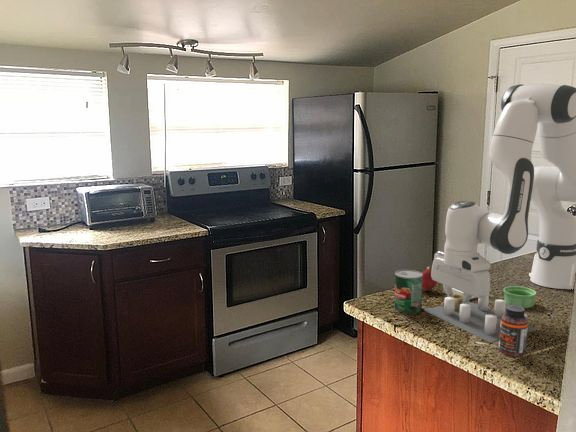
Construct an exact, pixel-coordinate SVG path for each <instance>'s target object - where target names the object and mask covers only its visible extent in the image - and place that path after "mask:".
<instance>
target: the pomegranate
mask: <svg viewBox="0 0 576 432" xmlns="http://www.w3.org/2000/svg"><path fill="white" fill-rule="evenodd" d="M431 270H432V269H431V267H430V266H427V267H426V269H425V270H423V271H422V272H421V273H422V274H423V276H422V290H424V291H426V292H429V291H431V290H432V289H434V288H435V287H436V285H437V284H438V282H436V281H434V280H432V277H431Z"/></svg>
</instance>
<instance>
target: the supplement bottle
mask: <svg viewBox="0 0 576 432" xmlns="http://www.w3.org/2000/svg"><path fill="white" fill-rule="evenodd" d="M525 309H526V308H523V307H520V306H516V305H507V306H506V307H505V314H504V315H502V317H501V325H500V337H499V340H498V350H499V352H500V353H501V354H503V355H506V356H508V357H509V356H510V357H515V358H522V357H524V356H525V354H526V349H527V348H526V347H527V339H528V338H527V337H528V332H527V329H528V326H529V320H528V317H527V318H526V317H525V316H524V314H526V313H525V311H526V310H525Z"/></svg>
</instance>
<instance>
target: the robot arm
mask: <svg viewBox="0 0 576 432" xmlns="http://www.w3.org/2000/svg"><path fill="white" fill-rule="evenodd" d="M500 109H501V113H500V115H499V117H498V120H497V122H496V125H495V127H494V130H493V133H492V136H491V141H490V144H489V150H488V151H489V152H488V157H489V159H490V161H491V163H492V165H493V166H494V167H495V168H497V170H499V171H500V172H501V173H502V174H503V175H504V176H505V178H506V179H507V182H508V189H507V190H508V191H507V194H506V195H507V196H506V200H505V201H506V202H505V209H504V213H503V214H500V213H497V212H495V211H494V212H493V211H490V210H489V209H486V208H483V207H481V206H479V204H477V202H475V201H472V200H461V201H460V200H459V201H455V202H454V203H451V204H450V206H449V207H448V209H447V213H446V215H445V217H446V219H445V226H444V230H445V231H444V232H445V233H444V234H445V237H446V238H445V243H444V247H443V249H444V250H443V251H442V250H438V251H436V252H435V253H434V255H433V260H432V265H431V269H430V270H431V277H432V280H434V281H436V282H437V283H439V284H442V285H445V290H446V293H447V294H446V297H449V295H452V294H453V291H452V288H454V289H456V290H459V291H461V292H464V293H463V295H464V296H465V297H464V299H463V300H461V301H460V302H461V303H460V304H469V302H470V300H472V299H471V297H472V296H474V297H476V298H477V299H478V298H484V297H487V296H488V295H489V296H490V292H491V274H490V272H489V271H488V270H490V269H491V262H490V261H489V260H487V259H486V258H485V257H483V256H482V255H481V254H480V253H479V252H477V251H478V250H477V248H478V244H483V245H484V246H487V247H489V248H493V249H494V250H496V251H498V252H500V253H502V254H504V255H511V254H515V253H517V252H518V251H520V250H521V249H522V248H523V247H524V246H525V245H526V243H527V241H528V237H529V215H530V214H529V213H530V207H531V202H532V203H533V205H534V206H535V208H536V211H537V214H538V219H539V220H538V221H539V223H538V224H539V226H538V227H539V233H538V239H537V240H536V253H535V254H534V257H533V262H532V267H531V272H529V273H528V276H529V277H530V279H529V280H530V282H532V283H533V284H534V285H535V284H536V285H538V286H540V287H545V288H549V289H550V288H552V289H557V290H558V289H559V290H571V289H572V290H571V291H574V290H573V285H574V282H575V273H576V217H575V216H574V215H573V214H572V213H570V212H569V211H568V210H566V209H564V207H563V206H562V204H561V202H570V203H572V202H573V203H576V87H575V86H571V85H567V84H563V85H561V84H560V85H559V84H554V83H553V84H552V83H539V84H538V83H535V84H533V83H531V84H515V85H511V86H510V87H508V89H506V90H505V92H504V93H503V94H502V96H501V100H500ZM537 130H538V131H537ZM537 132H538V140H539V143H538V144H539V151H540V154H541V156H542V157H543V159H544V160H546V161H547V162H548V163H551V164H553V165H554V166H552V165H550V166H548V165H539V166H538V165H537V166H534V164H533V162H532V151H533V146H534V143H535V140H536V135H537ZM476 298H475V299H476Z"/></svg>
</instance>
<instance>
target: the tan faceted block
mask: <svg viewBox="0 0 576 432" xmlns="http://www.w3.org/2000/svg"><path fill="white" fill-rule="evenodd" d="M449 297H452V298H454V299H455V307H454V310H457V311H460V303H461V302H460V301H461V300H463V299H464V296H463V295H459V294H452V295H449Z"/></svg>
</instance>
